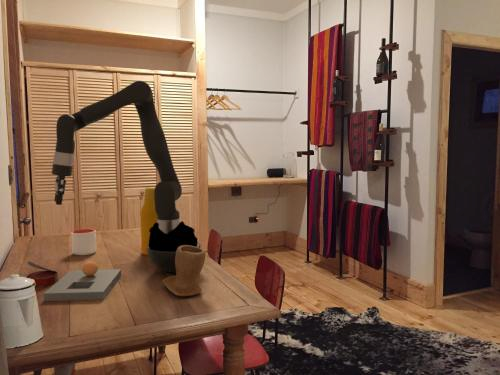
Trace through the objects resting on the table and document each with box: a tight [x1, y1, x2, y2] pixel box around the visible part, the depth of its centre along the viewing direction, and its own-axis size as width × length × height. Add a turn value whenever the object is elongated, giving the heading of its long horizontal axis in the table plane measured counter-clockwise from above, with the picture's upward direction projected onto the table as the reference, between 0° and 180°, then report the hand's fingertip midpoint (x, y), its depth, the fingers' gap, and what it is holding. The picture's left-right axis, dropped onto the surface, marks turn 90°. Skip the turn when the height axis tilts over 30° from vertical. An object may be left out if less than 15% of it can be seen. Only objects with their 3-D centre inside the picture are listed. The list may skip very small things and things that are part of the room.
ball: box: [81, 261, 99, 276], centre depth 148 cm, size 5×5×5 cm
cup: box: [70, 228, 97, 256], centre depth 188 cm, size 10×10×10 cm
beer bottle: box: [139, 187, 157, 256], centre depth 187 cm, size 9×9×29 cm
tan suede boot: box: [162, 245, 206, 297], centre depth 139 cm, size 15×12×15 cm
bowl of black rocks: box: [147, 220, 201, 273], centre depth 160 cm, size 20×20×19 cm
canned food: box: [26, 261, 59, 288], centre depth 149 cm, size 11×10×10 cm
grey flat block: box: [43, 268, 122, 302], centre depth 143 cm, size 18×24×2 cm
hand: (57, 203), depth 173 cm, fingers open, 8 cm apart
